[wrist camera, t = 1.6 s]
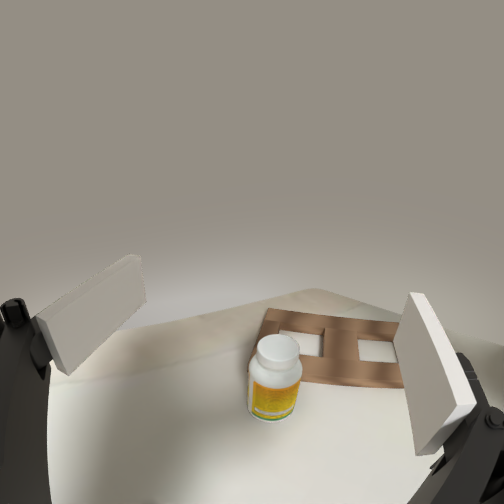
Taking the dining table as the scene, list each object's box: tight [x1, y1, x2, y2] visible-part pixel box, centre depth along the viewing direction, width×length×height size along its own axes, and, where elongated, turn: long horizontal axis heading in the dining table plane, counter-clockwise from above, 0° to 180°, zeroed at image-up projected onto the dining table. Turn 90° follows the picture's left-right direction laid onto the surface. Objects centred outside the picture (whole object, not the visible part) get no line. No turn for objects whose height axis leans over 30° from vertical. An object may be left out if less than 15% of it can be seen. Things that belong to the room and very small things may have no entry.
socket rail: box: [247, 308, 404, 388], centre depth 38 cm, size 24×14×2 cm, turn 76°
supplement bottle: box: [247, 334, 302, 423], centre depth 27 cm, size 5×5×10 cm
